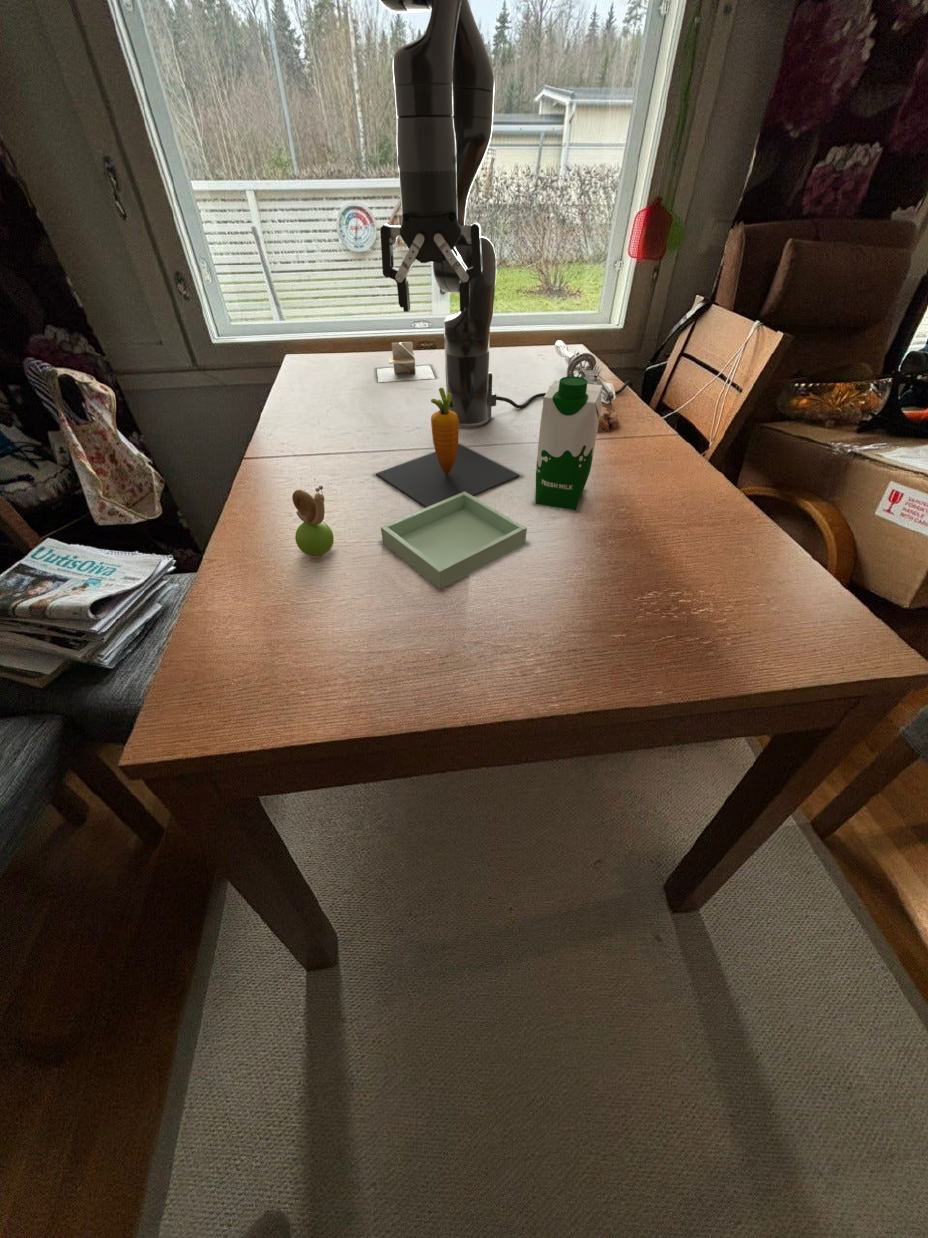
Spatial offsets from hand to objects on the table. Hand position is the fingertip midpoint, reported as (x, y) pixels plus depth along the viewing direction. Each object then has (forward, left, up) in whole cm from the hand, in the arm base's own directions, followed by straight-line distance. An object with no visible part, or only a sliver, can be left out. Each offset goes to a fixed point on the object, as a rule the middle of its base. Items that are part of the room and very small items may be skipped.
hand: (434, 310), depth 76 cm
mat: (0, +1, -27) cm, 27 cm away
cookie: (-40, +3, -27) cm, 49 cm away
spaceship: (-56, -15, -27) cm, 64 cm away
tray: (+13, +19, -27) cm, 35 cm away
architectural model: (-28, -53, -27) cm, 66 cm away
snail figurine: (+30, +8, -27) cm, 41 cm away
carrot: (0, +1, -27) cm, 27 cm away
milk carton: (-10, +20, -27) cm, 35 cm away
